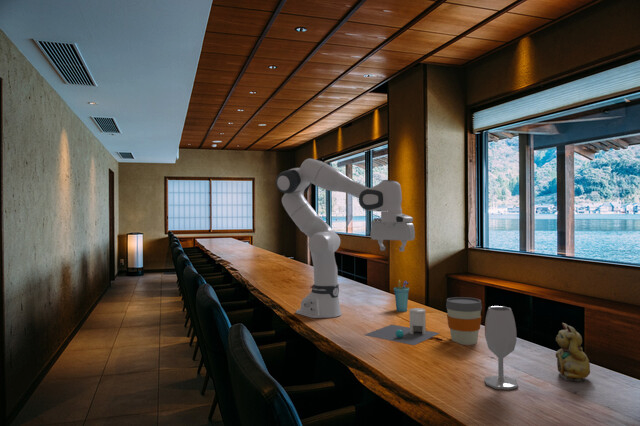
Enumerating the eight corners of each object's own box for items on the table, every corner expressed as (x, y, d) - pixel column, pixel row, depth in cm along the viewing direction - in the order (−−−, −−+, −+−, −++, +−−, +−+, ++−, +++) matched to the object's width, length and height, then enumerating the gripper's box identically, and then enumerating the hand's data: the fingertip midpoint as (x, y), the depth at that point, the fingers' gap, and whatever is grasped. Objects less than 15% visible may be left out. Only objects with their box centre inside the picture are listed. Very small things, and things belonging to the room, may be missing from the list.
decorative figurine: (551, 371, 135) (551, 320, 135) (581, 371, 134) (580, 320, 134) (565, 383, 125) (565, 329, 125) (597, 384, 124) (596, 329, 124)
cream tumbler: (406, 333, 177) (406, 310, 177) (414, 330, 181) (414, 307, 181) (420, 335, 173) (420, 312, 173) (428, 332, 177) (428, 309, 177)
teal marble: (394, 337, 171) (393, 329, 170) (398, 336, 173) (398, 328, 173) (401, 339, 169) (400, 331, 169) (405, 337, 171) (405, 329, 171)
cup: (416, 313, 212) (415, 281, 212) (400, 314, 210) (400, 282, 210) (404, 307, 226) (403, 277, 226) (389, 308, 224) (389, 277, 224)
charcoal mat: (363, 336, 175) (363, 334, 175) (391, 325, 191) (391, 324, 190) (414, 346, 161) (414, 345, 161) (440, 334, 176) (440, 333, 176)
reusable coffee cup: (444, 344, 163) (444, 302, 163) (448, 335, 175) (447, 296, 175) (481, 347, 158) (481, 304, 158) (483, 338, 170) (482, 298, 170)
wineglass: (478, 379, 129) (477, 305, 129) (508, 377, 130) (507, 304, 130) (493, 391, 120) (491, 312, 120) (524, 389, 121) (523, 311, 121)
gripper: (367, 218, 198) (367, 250, 198) (408, 218, 184) (409, 252, 184) (375, 218, 202) (376, 249, 202) (416, 217, 189) (417, 251, 189)
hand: (392, 250), depth 193 cm, fingers open, 8 cm apart
